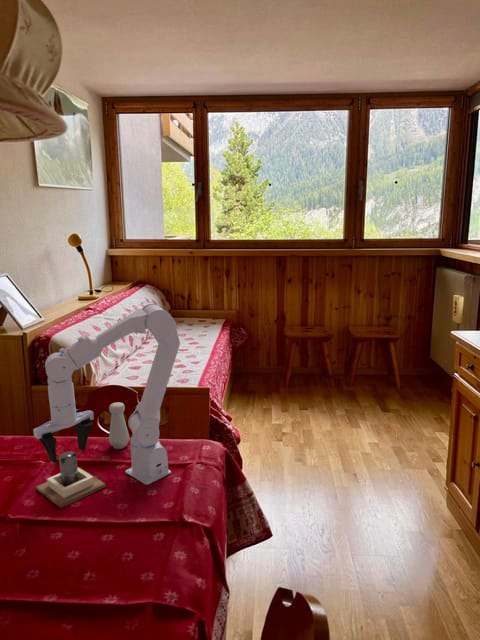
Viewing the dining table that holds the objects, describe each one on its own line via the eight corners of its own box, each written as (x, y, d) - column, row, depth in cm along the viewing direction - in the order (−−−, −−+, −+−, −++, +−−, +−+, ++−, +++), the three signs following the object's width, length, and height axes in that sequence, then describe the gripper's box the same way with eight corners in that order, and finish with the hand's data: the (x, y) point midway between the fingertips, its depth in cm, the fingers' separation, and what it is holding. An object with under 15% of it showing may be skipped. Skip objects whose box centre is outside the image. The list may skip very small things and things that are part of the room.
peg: (81, 484, 124) (78, 455, 122) (66, 491, 122) (62, 461, 120) (74, 478, 127) (71, 449, 125) (59, 484, 124) (56, 455, 123)
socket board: (105, 486, 125) (104, 476, 124) (60, 508, 116) (59, 497, 115) (80, 470, 133) (79, 460, 132) (36, 489, 124) (35, 479, 123)
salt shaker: (127, 450, 143) (124, 407, 140) (107, 450, 143) (103, 408, 140) (131, 441, 149) (129, 400, 146) (112, 441, 149) (109, 400, 146)
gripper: (81, 390, 127) (85, 439, 130) (24, 407, 117) (31, 461, 120) (96, 397, 122) (100, 448, 126) (39, 416, 112) (45, 471, 115)
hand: (68, 455), depth 122 cm, fingers open, 7 cm apart
